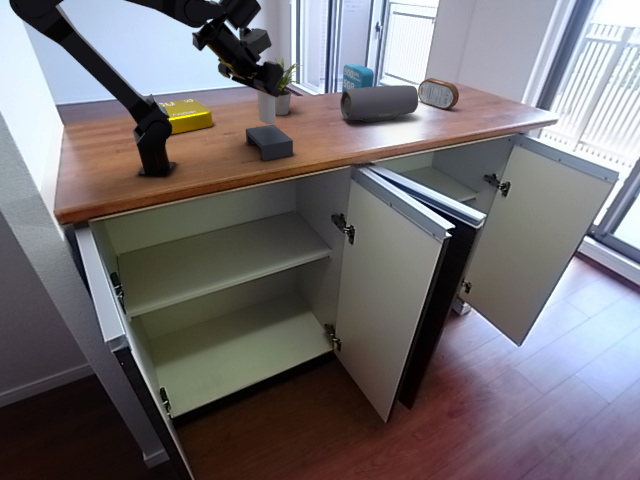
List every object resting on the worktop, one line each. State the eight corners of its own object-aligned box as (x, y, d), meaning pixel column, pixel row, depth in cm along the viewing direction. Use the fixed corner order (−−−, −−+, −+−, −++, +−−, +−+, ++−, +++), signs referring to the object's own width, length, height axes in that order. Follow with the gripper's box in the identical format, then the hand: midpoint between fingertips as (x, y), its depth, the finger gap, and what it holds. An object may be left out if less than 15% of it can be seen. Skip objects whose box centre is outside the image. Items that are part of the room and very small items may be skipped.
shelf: (263, 161, 91) (262, 145, 89) (246, 143, 99) (245, 128, 97) (293, 155, 94) (293, 140, 92) (274, 138, 103) (273, 124, 100)
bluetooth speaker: (401, 111, 125) (406, 80, 119) (416, 121, 118) (422, 88, 112) (338, 117, 118) (340, 84, 112) (350, 127, 111) (353, 93, 105)
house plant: (311, 118, 116) (312, 62, 106) (268, 123, 112) (265, 64, 102) (296, 104, 127) (296, 52, 117) (256, 108, 122) (253, 53, 112)
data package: (341, 99, 133) (343, 63, 126) (351, 98, 135) (354, 62, 128) (359, 109, 125) (363, 71, 118) (370, 108, 127) (374, 70, 119)
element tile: (163, 136, 101) (159, 119, 98) (147, 120, 111) (143, 103, 108) (215, 126, 108) (213, 109, 106) (196, 111, 118) (193, 96, 115)
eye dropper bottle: (276, 117, 97) (275, 67, 90) (275, 124, 93) (274, 73, 85) (259, 116, 97) (256, 66, 90) (257, 124, 92) (254, 72, 85)
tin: (455, 110, 127) (462, 85, 122) (450, 112, 126) (457, 86, 121) (419, 99, 136) (424, 75, 131) (414, 101, 134) (419, 76, 129)
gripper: (276, 20, 73) (314, 73, 86) (223, 10, 84) (264, 58, 97) (245, 68, 73) (288, 113, 86) (197, 52, 84) (241, 94, 97)
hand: (270, 93), depth 92 cm, fingers closed on eye dropper bottle, 5 cm apart
